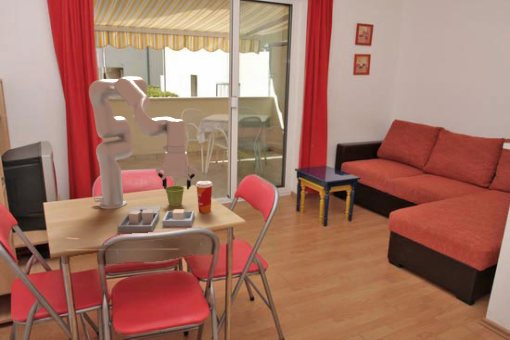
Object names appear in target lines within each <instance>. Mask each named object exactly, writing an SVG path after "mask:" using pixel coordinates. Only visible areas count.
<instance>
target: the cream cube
mask: <svg viewBox="0 0 510 340" xmlns="http://www.w3.org/2000/svg"><path fill="white" fill-rule="evenodd" d="M172 211H173V220H185V211H186V209H185V208H184V209H183V208H182V209H178V208H177V209H175V208H174V209H173V210H172Z"/></svg>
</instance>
